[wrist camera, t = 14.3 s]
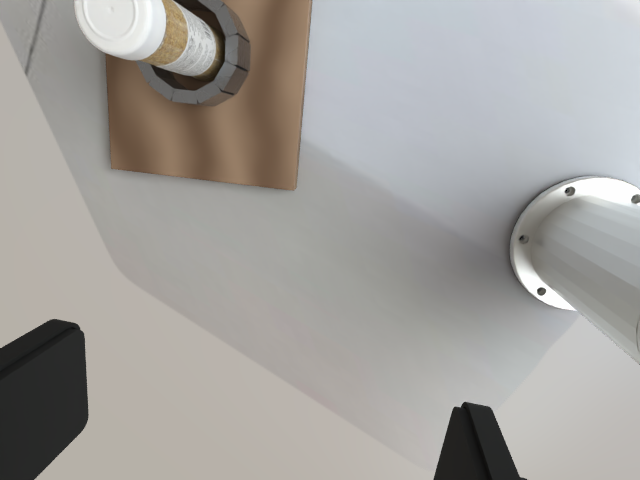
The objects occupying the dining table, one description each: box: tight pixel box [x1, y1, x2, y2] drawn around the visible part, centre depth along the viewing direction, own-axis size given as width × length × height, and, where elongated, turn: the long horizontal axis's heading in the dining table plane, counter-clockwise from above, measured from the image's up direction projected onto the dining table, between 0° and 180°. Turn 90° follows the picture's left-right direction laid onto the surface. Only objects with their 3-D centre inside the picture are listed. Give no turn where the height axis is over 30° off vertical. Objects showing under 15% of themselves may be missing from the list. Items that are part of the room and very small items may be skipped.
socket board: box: [105, 0, 312, 191], centre depth 35 cm, size 18×22×2 cm
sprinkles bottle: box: [74, 0, 226, 81], centre depth 27 cm, size 5×5×14 cm
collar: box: [135, 0, 251, 107], centre depth 32 cm, size 9×9×4 cm
